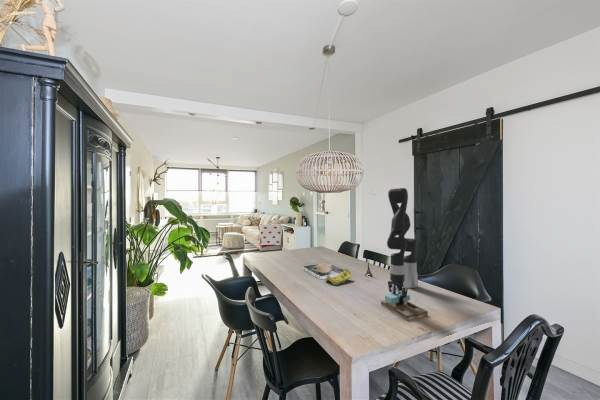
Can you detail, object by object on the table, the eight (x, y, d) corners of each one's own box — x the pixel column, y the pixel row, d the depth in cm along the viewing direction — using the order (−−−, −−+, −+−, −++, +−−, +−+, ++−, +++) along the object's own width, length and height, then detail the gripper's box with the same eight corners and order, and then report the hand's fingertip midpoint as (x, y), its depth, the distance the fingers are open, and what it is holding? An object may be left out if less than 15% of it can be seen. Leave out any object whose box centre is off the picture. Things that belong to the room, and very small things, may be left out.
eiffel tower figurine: (380, 278, 207) (380, 260, 207) (369, 279, 203) (369, 262, 203) (369, 273, 221) (369, 256, 221) (358, 274, 217) (358, 258, 217)
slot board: (400, 301, 158) (400, 297, 158) (427, 315, 139) (427, 311, 139) (381, 305, 153) (381, 301, 153) (406, 320, 134) (406, 315, 134)
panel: (403, 301, 155) (403, 292, 155) (409, 304, 150) (409, 295, 150) (385, 305, 150) (385, 295, 150) (391, 308, 145) (390, 298, 145)
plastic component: (335, 282, 188) (326, 273, 195) (333, 290, 191) (324, 281, 198) (354, 275, 200) (345, 267, 207) (352, 283, 202) (342, 274, 209)
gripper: (412, 275, 145) (412, 306, 145) (394, 268, 158) (394, 297, 158) (400, 276, 142) (401, 308, 142) (383, 269, 155) (383, 299, 156)
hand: (397, 302), depth 150 cm, fingers closed on panel, 5 cm apart
